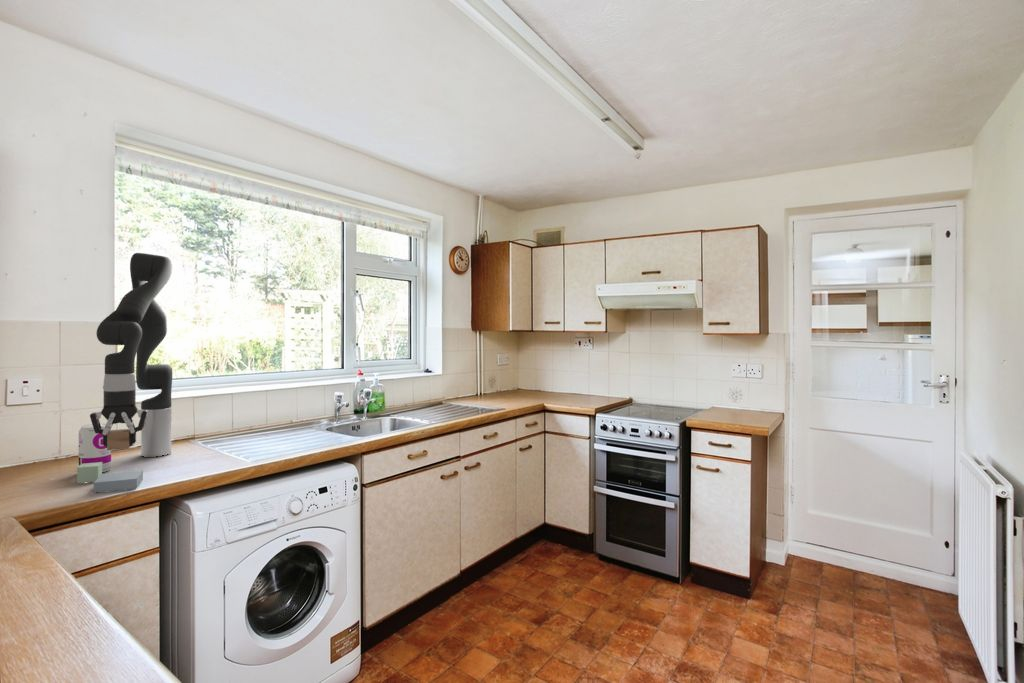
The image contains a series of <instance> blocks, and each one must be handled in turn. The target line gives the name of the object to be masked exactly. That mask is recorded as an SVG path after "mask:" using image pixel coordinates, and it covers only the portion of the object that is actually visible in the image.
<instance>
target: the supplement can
mask: <svg viewBox="0 0 1024 683" xmlns="http://www.w3.org/2000/svg"><path fill="white" fill-rule="evenodd" d="M100 425H101V428H102V429H104V428H105V425H106V423H100ZM111 430H112V429H111ZM111 430H110V431H111ZM96 462H102V472H104V473H107V472H109V471H110V470H111V469H112V450H107V448H106V446H104V445H103V435H102V434H99V433H95V431H94V428H93V425H92V423H91V424H86V425H82V426H80V428H79V430H78V467H79V466H80V465H81V464H84V463H96ZM108 470H109V471H108ZM106 471H107V472H106Z"/></svg>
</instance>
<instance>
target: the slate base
mask: <svg viewBox="0 0 1024 683" xmlns="http://www.w3.org/2000/svg"><path fill="white" fill-rule="evenodd" d="M143 480H144V470H142V469H141V470H140V469H139V470H128V471H118V472H117V471H115V472H104V473H102V475H101V476H100V477H99V478H98V479H97V480H96V481H95V482H94V483H93V494H97V493H96V492H101V493H106V492H105V491H111V492H116V491H115V490H121V491H126V490H125V489H130V490H137V489H138V488H139V486H140V485H141V483H142V481H143ZM137 487H138V488H137ZM136 488H137V489H136Z"/></svg>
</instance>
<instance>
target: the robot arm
mask: <svg viewBox="0 0 1024 683" xmlns="http://www.w3.org/2000/svg"><path fill="white" fill-rule="evenodd" d="M172 271H173V264H172V260H171V259H170V257H167V256H164V255H158V254H152V253H145V252H144V253H143V252H134V253H133V254H132V256H131V257H130V262H129V272H130V279H131V287H132V289H131V290H130V291H128V292H127V293H126V294H124V296H123V297H122V298H121V300H120V301H119V304H118V306H117V308H116V309H115V310H114V311H112V312H111V313H110V314H109V315H107V316H106V317H105V318H104V319H103V320H102V321H101V322H100V323H99V325H98V326H97V329H96V339H97V340H98V342H100V343H101V344H103V345H107V346H123V348H122V349H121V350H120V351H118V352H113V353H109V354H106V355H105V358H104V378H103V386H102V388H103V407H102V409H101V410H100V411H97V412H92V413H90V414H89V417H90V421H91V424H92V425H93V428H94V431H95V433H99V434H102V435H103V445H104V446H106V448H107V433H108V432H109V431H110V430H112V427H113V426H114V425H117V424H125V426H126V427H127V429H129V431H130V436H129V445H130V446H131V447H133V446H134V444H135V443H137V432H140V456H141V457H142V456H144V457H143V458H157V457H156V456H158V457H163V456H162V455H164V456H168V455H170V454H171V453H172V389H173V388H172V386H173V367H172V366H171V365H170V364H148V362H149V360H150V358H151V355H152V354H153V353H154V351H155V350H156V349H157V348H158V346H160V344H161V343H162V342H163V341H164V339H165V338H166V335H167V333H168V331H167V330H168V328H167V327H168V326H167V325H168V324H167V322H168V320H167V315H166V313H165V311H164V310H163V308H162V307H161V306H160V304H159V303H158V302H157V301H156V300H155V298H156V297H157V295H158V294H160V292H161V291H162V289H163V288H164V287H165V286H166V285H167V284H168V282H169V280H170V278H171V276H172V273H173V272H172ZM135 360H136V364H135ZM135 367H136V368H135ZM135 369H136V370H135ZM136 387H137V388H138V389H139V390H143V391H149V390H150V391H151V390H153V391H154V390H160V391H161V392H159V394H157V395H155V396H153V397H150V398H145V399H143V400H142V401H141V403H140V409H138V408H137V405H136V403H137V402H136V398H137V396H136V392H137V391H136ZM136 414H137V416H138V418H139V421H138V425H137V426H136V425H135V423H134V421H133V420H134V419H133V417H135V415H136ZM102 416H103V418H105V420H107V421H106V423H105V424H106V425H105V428H104V429H102V428H101V425H100V424H101V421H100V419H101V418H102ZM167 454H168V455H167Z"/></svg>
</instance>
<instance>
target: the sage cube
mask: <svg viewBox="0 0 1024 683" xmlns="http://www.w3.org/2000/svg"><path fill="white" fill-rule="evenodd" d="M102 474H103V473H102V462H96V463H84V464H81V465H80V466H79V465H78V466H77V467H76V484H77V483H83V484H86V483H85V482H95V481H96V480H97V479H98V478H99V477H100V476H101V475H102Z"/></svg>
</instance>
